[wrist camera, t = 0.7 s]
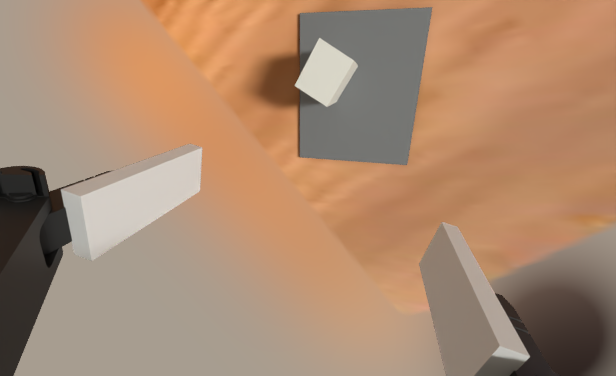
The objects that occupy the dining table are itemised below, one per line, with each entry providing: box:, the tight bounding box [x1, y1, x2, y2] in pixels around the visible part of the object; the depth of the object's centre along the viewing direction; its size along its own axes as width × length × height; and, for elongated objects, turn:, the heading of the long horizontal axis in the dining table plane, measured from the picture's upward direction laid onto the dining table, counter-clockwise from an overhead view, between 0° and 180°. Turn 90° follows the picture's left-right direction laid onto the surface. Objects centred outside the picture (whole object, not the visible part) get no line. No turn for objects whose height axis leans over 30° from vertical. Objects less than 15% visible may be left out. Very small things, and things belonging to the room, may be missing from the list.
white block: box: [295, 38, 358, 107], centre depth 30 cm, size 4×5×8 cm
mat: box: [300, 7, 432, 165], centre depth 34 cm, size 18×15×1 cm
